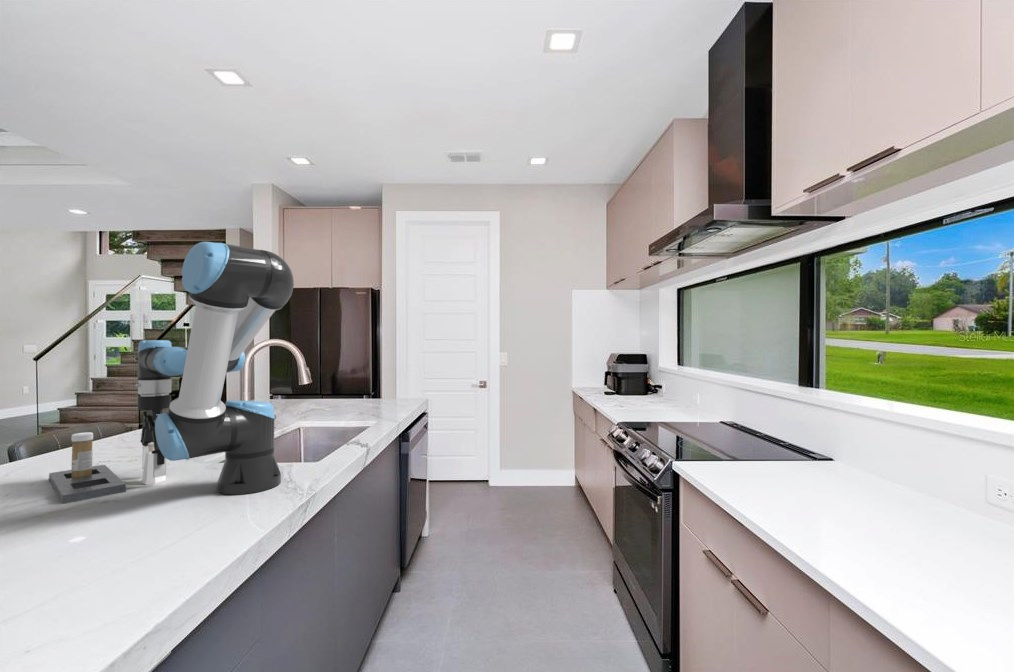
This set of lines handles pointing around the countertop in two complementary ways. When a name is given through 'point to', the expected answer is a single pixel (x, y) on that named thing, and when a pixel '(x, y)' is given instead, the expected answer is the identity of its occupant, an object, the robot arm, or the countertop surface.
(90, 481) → the bolt plate
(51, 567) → the countertop surface
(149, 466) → the pepper shaker
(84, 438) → the sprinkles bottle
